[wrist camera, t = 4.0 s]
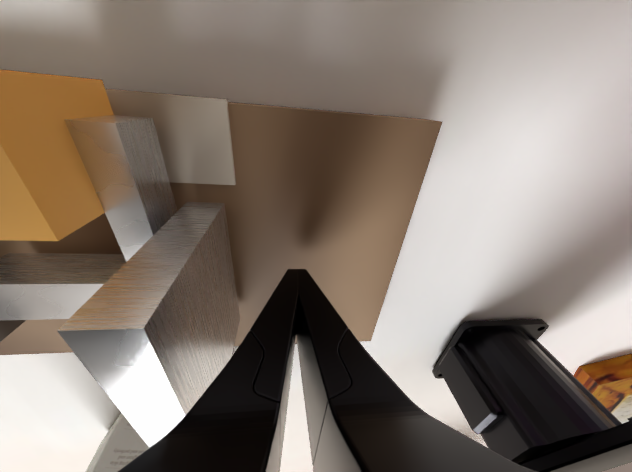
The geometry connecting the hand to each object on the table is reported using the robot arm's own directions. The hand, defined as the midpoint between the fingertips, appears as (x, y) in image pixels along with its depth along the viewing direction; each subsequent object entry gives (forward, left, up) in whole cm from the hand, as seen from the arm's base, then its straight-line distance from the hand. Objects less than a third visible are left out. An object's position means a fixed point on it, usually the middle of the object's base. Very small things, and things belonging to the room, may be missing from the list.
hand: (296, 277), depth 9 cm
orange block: (+6, -5, 0) cm, 8 cm away
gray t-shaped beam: (+6, -1, 0) cm, 7 cm away
